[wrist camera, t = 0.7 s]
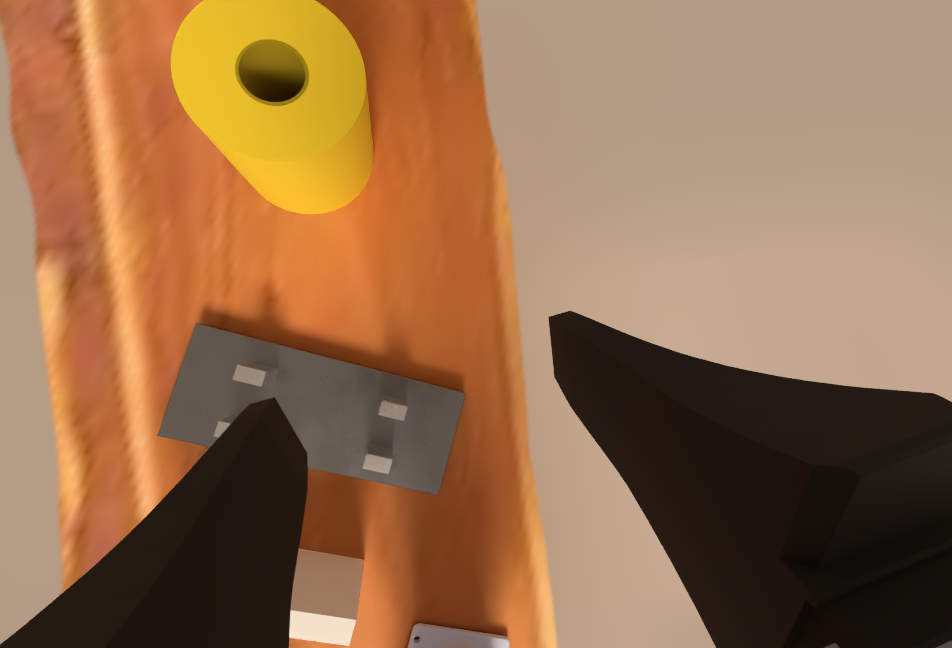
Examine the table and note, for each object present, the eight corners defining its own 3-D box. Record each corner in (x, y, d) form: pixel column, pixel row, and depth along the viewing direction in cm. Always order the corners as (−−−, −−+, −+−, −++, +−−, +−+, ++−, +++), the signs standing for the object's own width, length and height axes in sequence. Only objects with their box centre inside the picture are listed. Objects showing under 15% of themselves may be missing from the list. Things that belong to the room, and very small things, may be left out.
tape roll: (368, 90, 33) (359, -8, 24) (378, 212, 33) (372, 161, 23) (233, 85, 31) (165, -24, 22) (242, 215, 31) (177, 160, 21)
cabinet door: (358, 579, 31) (348, 645, 24) (191, 551, 29) (129, 615, 22) (367, 548, 31) (360, 606, 24) (202, 518, 29) (143, 573, 22)
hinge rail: (436, 489, 32) (442, 510, 28) (166, 431, 29) (129, 446, 25) (463, 391, 33) (473, 399, 29) (203, 324, 30) (173, 321, 26)
